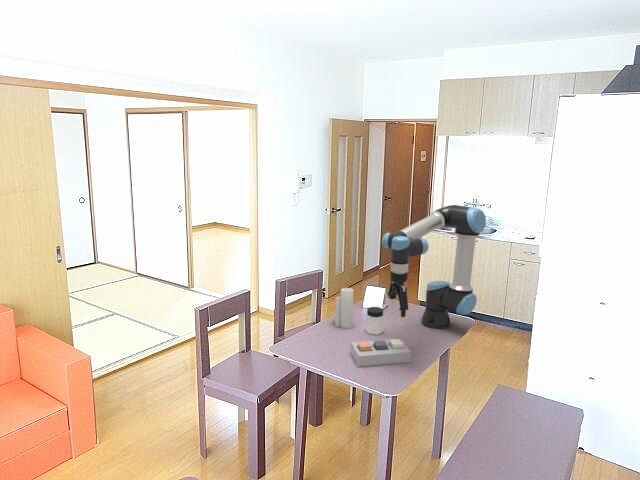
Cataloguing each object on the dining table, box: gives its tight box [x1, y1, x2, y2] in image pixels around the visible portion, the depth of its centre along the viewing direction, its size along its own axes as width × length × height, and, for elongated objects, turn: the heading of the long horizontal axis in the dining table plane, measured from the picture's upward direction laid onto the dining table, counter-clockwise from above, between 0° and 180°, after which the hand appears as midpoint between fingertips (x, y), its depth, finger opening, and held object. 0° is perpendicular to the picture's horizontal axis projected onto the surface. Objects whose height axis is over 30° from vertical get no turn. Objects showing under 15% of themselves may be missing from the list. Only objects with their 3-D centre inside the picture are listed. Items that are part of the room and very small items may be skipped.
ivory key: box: [388, 338, 405, 349], centre depth 215 cm, size 5×5×3 cm
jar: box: [365, 306, 385, 336], centre depth 242 cm, size 9×8×12 cm
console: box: [350, 338, 412, 368], centre depth 214 cm, size 24×14×5 cm, turn 101°
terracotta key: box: [357, 340, 372, 352], centre depth 212 cm, size 5×5×3 cm
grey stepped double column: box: [334, 287, 354, 329], centre depth 249 cm, size 11×7×20 cm, turn 48°
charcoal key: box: [373, 339, 388, 350], centre depth 214 cm, size 5×5×3 cm
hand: (396, 317), depth 212 cm, fingers open, 12 cm apart
